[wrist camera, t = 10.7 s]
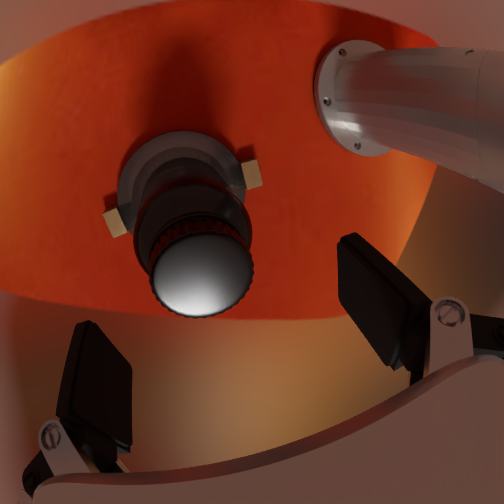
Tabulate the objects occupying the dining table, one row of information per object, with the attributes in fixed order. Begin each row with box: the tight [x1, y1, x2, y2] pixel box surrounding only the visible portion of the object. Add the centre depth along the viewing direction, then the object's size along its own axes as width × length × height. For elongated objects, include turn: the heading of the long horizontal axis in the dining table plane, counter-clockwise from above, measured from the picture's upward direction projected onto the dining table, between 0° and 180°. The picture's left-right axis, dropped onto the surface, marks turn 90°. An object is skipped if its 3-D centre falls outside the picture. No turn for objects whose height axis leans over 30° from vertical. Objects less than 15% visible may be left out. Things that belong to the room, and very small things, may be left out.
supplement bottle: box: [133, 157, 254, 319], centre depth 17 cm, size 7×7×12 cm
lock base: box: [103, 131, 263, 238], centre depth 22 cm, size 14×11×1 cm
